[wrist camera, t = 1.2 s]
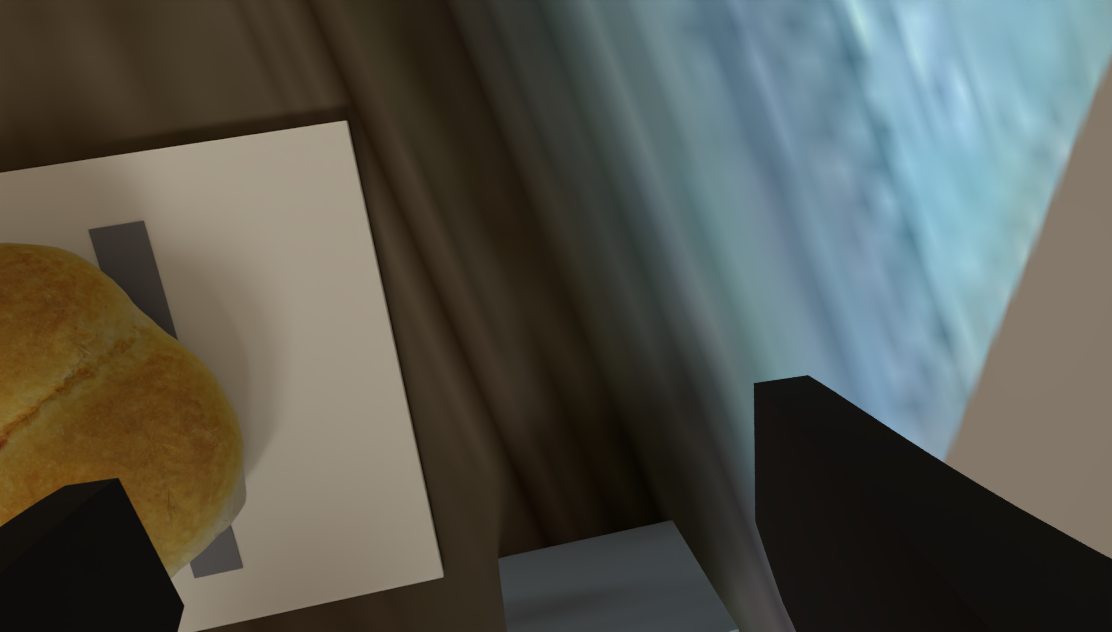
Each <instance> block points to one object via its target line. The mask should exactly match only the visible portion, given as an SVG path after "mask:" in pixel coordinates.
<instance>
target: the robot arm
mask: <svg viewBox="0 0 1112 632" xmlns="http://www.w3.org/2000/svg"><path fill="white" fill-rule="evenodd" d="M754 435H755V522H756V525H757V528H758V531H759V534H760V537H761V540H762V543H763V546H764V549H765V552H766V555H767V558H768V561H769V564H770V567H771V570H772V573H773V576H774V578H775V581H776V584H777V587H778V590H779V593H780V596H781V598H782V601H783V604H784V606H785V608H786V610H787V612H788V615H789V617H790V619H791V621H792V623H793V625H794V628H795V630H796V632H1112V559H1111V558H1109V557H1107V556H1105V555H1103V554H1101V553H1099V552H1098V551H1096V550H1094V549H1092V548H1090V547H1088V546H1086V545H1085V544H1083V543H1081V542H1079V541H1077V540H1076V539H1074V538H1072V537H1070V536H1068V535H1067V534H1065V533H1063V532H1061V531H1059V530H1057V529H1056V528H1054V527H1052V526H1051V525H1049V524H1047V523H1045V522H1043V521H1041V520H1040V519H1038V518H1036V517H1034V516H1033V515H1031V514H1029V513H1027V512H1025V511H1024V510H1022V509H1020V508H1018V507H1016V506H1015V505H1013V504H1011V503H1010V502H1008V501H1006V500H1005V499H1003V498H1001V497H999V496H998V495H996V494H995V493H993V492H991V491H989V490H988V489H986V488H984V487H983V486H981V485H979V484H978V483H976V482H974V481H973V480H971V479H969V478H968V477H966V476H965V475H963V474H961V473H960V472H958V471H956V470H955V469H953V468H951V467H950V466H948V465H947V464H945V463H944V462H942V461H940V460H939V459H937V458H936V457H934V456H932V455H931V454H929V453H928V452H926V451H924V450H923V449H921V448H920V447H918V446H917V445H915V444H914V443H912V442H910V441H909V440H907V439H906V438H904V437H903V436H901V435H900V434H898V433H897V432H895V431H893V430H892V429H890V428H889V427H887V426H886V425H884V424H883V423H881V422H880V421H878V420H877V419H875V418H874V417H872V416H871V415H869V414H868V413H866V412H865V411H863V410H861V409H860V408H858V407H857V406H855V405H854V404H852V403H851V402H849V401H848V400H846V399H845V398H843V397H842V396H840V395H839V394H837V393H836V392H834V391H833V390H831V389H830V388H828V387H826V386H825V385H823V384H822V383H820V382H818V381H817V380H815V379H813V378H812V377H810V376H808V375H806V376H799V377H793V378H786V379H779V380H772V381H766V382H759V383H754ZM183 610H184V604H183V602H182V600H181V598H180V596H179V594H178V592H177V590H176V588H175V586H174V584H173V583H172V581H171V579H170V577H169V575H168V573H167V571H166V569H165V567H164V565H163V563H162V561H161V559H160V557H159V555H158V553H157V551H156V550H155V548H154V546H153V544H152V542H151V540H150V538H149V536H148V534H147V532H146V530H145V528H144V526H143V524H142V522H141V520H140V519H139V517H138V515H137V513H136V511H135V509H134V507H133V505H132V503H131V501H130V499H129V497H128V495H127V493H126V491H125V489H124V488H123V486H122V484H121V482H120V480H119V478H112V479H105V480H98V481H92V482H85V483H78V484H72V485H65V486H63V487H62V488H60V489H58V490H56V491H55V492H53V493H51V494H50V495H48V496H46V497H45V498H43V499H41V500H40V501H38V502H37V503H35V504H33V505H32V506H30V507H29V508H27V509H26V510H24V511H23V512H21V513H20V514H18V515H17V516H15V517H14V518H12V519H11V520H9V521H8V522H6V523H5V524H3V525H2V526H0V632H178V629H179V625H180V621H181V618H182V614H183Z"/></svg>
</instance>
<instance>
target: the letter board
mask: <svg viewBox="0 0 1112 632" xmlns="http://www.w3.org/2000/svg"><path fill="white" fill-rule="evenodd" d="M0 243H19V244H32V245H43V246H51V247H57V248H60V249H63V250H66V251H69V252H72V253H75V254H77V255H78V256H80V257H82V258H84V259H85V260H87V261H88V262H90V263H91V264H93V265H94V266H96V267H97V268H98V269H100V270H101V271H102V272H104V273H105V274H106V275H108V276H109V277H110V278H112V279H113V280H114V281H115V282H116V283H117V284H118V285H119V286H120V287H121V288H122V289H123V290H124V291H125V292H126V293H127V295H128V296H129V298H130V299H131V301H132V302H133V303H134V304H135V305H136V306H137V307H138V308H139V309H140V310H141V311H142V312H143V313H144V314H146V315H147V316H148V317H149V318H151V319H152V320H153V321H154V322H155V323H156V324H157V325H158V326H159V327H160V328H162V329H163V330H164V331H165V332H166V333H167V334H169V335H171V336H172V337H174V338H175V339H176V340H178V341H179V342H180V343H181V344H182V345H184V346H185V347H186V348H187V349H189V350H190V351H191V352H192V353H194V354H195V355H196V356H197V357H199V358H200V359H201V360H202V361H203V362H204V363H205V365H206V366H207V367H208V368H209V370H210V371H211V372H212V373H213V374H214V376H215V377H216V378H217V380H218V381H219V383H220V384H221V385H222V387H223V388H224V390H225V392H226V394H227V396H228V397H229V399H230V401H231V403H232V404H233V406H234V408H235V410H236V412H237V413H238V417H239V421H240V426H241V430H242V436H243V443H244V476H245V484H246V492H247V494H246V503H245V505H244V506H243V508H242V509H241V511H240V512H239V514H238V516H237V517H236V518H235V519H234V521H233V522H232V523H231V524H230V526H229V527H228V528H227V529H226V530H225V531H224V532H222V533H220V534H219V535H218V536H217V537H216V538H215V540H213V541H212V542H211V543H210V544H209V546H208V547H207V548H206V549H205V550H204V551H202V552H201V553H200V554H199V555H198V556H196V557H195V558H194V559H193V560H192V561H191V562H190V563H188V564H187V565H186V566H184V567H183V568H181V569H180V570H179V571H178V572H177V573H176V574H175V575H174V576H173V577H172V578H171V581H172V583H173V584H174V586H175V588H176V590H177V592H178V594H179V596H180V598H181V600H182V602H183V604H184V610H183V614H182V618H181V621H180V625H179V629H178V632H195V631H200V630H205V629H209V628H214V627H218V626H223V625H227V624H232V623H237V622H241V621H246V620H250V619H255V618H259V617H264V616H269V615H273V614H278V613H282V612H287V611H291V610H296V609H301V608H305V607H310V606H314V605H319V604H323V603H328V602H333V601H337V600H342V599H346V598H351V597H355V596H360V595H365V594H369V593H374V592H378V591H383V590H387V589H392V588H397V587H401V586H406V585H410V584H415V583H419V582H424V581H429V580H433V579H438V578H442V577H444V570H443V566H442V561H441V556H440V551H439V547H438V542H437V537H436V533H435V528H434V523H433V519H432V514H431V509H430V505H429V500H428V495H427V491H426V486H425V481H424V476H423V472H422V467H421V462H420V458H419V453H418V448H417V444H416V439H415V434H414V430H413V425H412V420H411V415H410V411H409V406H408V401H407V397H406V392H405V387H404V383H403V378H402V373H401V369H400V364H399V359H398V355H397V350H396V345H395V340H394V336H393V331H392V326H391V322H390V317H389V312H388V308H387V303H386V298H385V294H384V289H383V284H382V279H381V275H380V270H379V265H378V261H377V256H376V251H375V247H374V242H373V237H372V233H371V228H370V223H369V219H368V214H367V209H366V204H365V200H364V195H363V190H362V186H361V181H360V176H359V172H358V167H357V162H356V158H355V153H354V148H353V144H352V139H351V134H350V129H349V125H348V121H339V122H333V123H326V124H319V125H313V126H306V127H300V128H293V129H286V130H280V131H273V132H267V133H260V134H253V135H247V136H240V137H234V138H227V139H220V140H214V141H207V142H201V143H194V144H187V145H181V146H174V147H168V148H161V149H154V150H148V151H141V152H135V153H128V154H121V155H115V156H108V157H102V158H95V159H88V160H82V161H75V162H69V163H62V164H55V165H49V166H42V167H36V168H29V169H22V170H16V171H9V172H3V173H0Z"/></svg>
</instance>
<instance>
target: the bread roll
mask: <svg viewBox="0 0 1112 632" xmlns="http://www.w3.org/2000/svg"><path fill="white" fill-rule="evenodd" d="M112 478H119V480H120V482H121V484H122V486H123V488H124V489H125V491H126V493H127V495H128V497H129V499H130V501H131V503H132V505H133V507H134V509H135V511H136V513H137V515H138V517H139V519H140V520H141V522H142V524H143V526H144V528H145V530H146V532H147V534H148V536H149V538H150V540H151V542H152V544H153V546H154V548H155V550H156V551H157V553H158V555H159V557H160V559H161V561H162V563H163V565H164V567H165V569H166V571H167V573H168V575H169V577H170V579H171V578H172V577H173V576H174V575H175V574H176V573H177V572H178V571H179V570H180V569H181V568H183V567H184V566H186V565H187V564H188V563H190V562H191V561H192V560H193V559H194V558H195V557H196V556H198V555H199V554H200V553H201V552H202V551H204V550H205V549H206V548H207V547H208V546H209V544H210V543H211V542H212V541H213V540H215V538H216V537H217V536H218V535H219V534H220V533H222V532H224V531H225V530H226V529H227V528H228V527H229V526H230V524H231V523H232V522H233V521H234V519H235V518H236V517H237V516H238V514H239V512H240V511H241V509H242V508H243V506H244V505H245V503H246V494H247V492H246V484H245V476H244V443H243V436H242V430H241V426H240V421H239V417H238V413H237V412H236V410H235V408H234V406H233V404H232V403H231V401H230V399H229V397H228V396H227V394H226V392H225V390H224V388H223V387H222V385H221V384H220V383H219V381H218V380H217V378H216V377H215V376H214V374H213V373H212V372H211V371H210V370H209V368H208V367H207V366H206V365H205V363H204V362H203V361H202V360H201V359H200V358H199V357H197V356H196V355H195V354H194V353H192V352H191V351H190V350H189V349H187V348H186V347H185V346H184V345H182V344H181V343H180V342H179V341H178V340H176V339H175V338H174V337H172V336H171V335H169V334H167V333H166V332H165V331H164V330H163V329H162V328H160V327H159V326H158V325H157V324H156V323H155V322H154V321H153V320H152V319H151V318H149V317H148V316H147V315H146V314H144V313H143V312H142V311H141V310H140V309H139V308H138V307H137V306H136V305H135V304H134V303H133V302H132V301H131V299H130V298H129V296H128V295H127V293H126V292H125V291H124V290H123V289H122V288H121V287H120V286H119V285H118V284H117V283H116V282H115V281H114V280H113V279H112V278H110V277H109V276H108V275H106V274H105V273H104V272H102V271H101V270H100V269H98V268H97V267H96V266H94V265H93V264H91V263H90V262H88V261H87V260H85V259H84V258H82V257H80V256H78V255H77V254H75V253H72V252H69V251H66V250H63V249H60V248H57V247H51V246H43V245H32V244H19V243H0V526H2V525H3V524H5V523H6V522H8V521H9V520H11V519H12V518H14V517H15V516H17V515H18V514H20V513H21V512H23V511H24V510H26V509H27V508H29V507H30V506H32V505H33V504H35V503H37V502H38V501H40V500H41V499H43V498H45V497H46V496H48V495H50V494H51V493H53V492H55V491H56V490H58V489H60V488H62V487H63V486H65V485H72V484H78V483H85V482H92V481H98V480H105V479H112Z"/></svg>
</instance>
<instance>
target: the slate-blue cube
mask: <svg viewBox="0 0 1112 632" xmlns="http://www.w3.org/2000/svg"><path fill="white" fill-rule="evenodd" d="M498 565H499V573H500V581H501V589H502V598H503V606H504V614H505V622H506V630H507V632H739V630H738V628H737V626H736V624H735V623H734V621H733V619H732V618H731V616H730V615H729V613H728V611H727V610H726V608H725V606H724V605H723V603H722V601H721V600H720V598H719V596H718V595H717V593H716V591H715V590H714V588H713V586H712V585H711V583H710V582H709V580H708V578H707V577H706V575H705V573H704V572H703V570H702V568H701V567H700V565H699V563H698V562H697V560H696V558H695V557H694V555H693V553H692V552H691V550H690V548H689V547H688V545H687V544H686V542H685V540H684V539H683V537H682V535H681V534H680V532H679V530H678V529H677V527H676V525H675V524H674V522H673V520H671V521H666V522H662V523H657V524H652V525H648V526H643V527H639V528H634V529H630V530H625V531H621V532H616V533H612V534H607V535H602V536H598V537H593V538H589V539H584V540H580V541H575V542H571V543H566V544H561V545H557V546H552V547H548V548H543V549H539V550H534V551H530V552H525V553H520V554H516V555H511V556H507V557H502V558H498Z"/></svg>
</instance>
